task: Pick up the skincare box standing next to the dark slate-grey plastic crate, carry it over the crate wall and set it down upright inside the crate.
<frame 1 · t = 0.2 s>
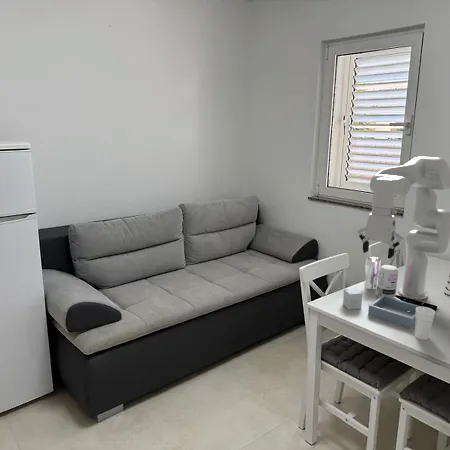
hand: (377, 254, 159), 31 cm above the table, tool pointing down, fingers open, 9 cm apart
skincare box: (351, 306, 185), on the table
supplement can: (385, 297, 195), on the table
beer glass: (370, 288, 205), on the table
cup: (421, 337, 160), on the table
crate: (395, 316, 176), on the table
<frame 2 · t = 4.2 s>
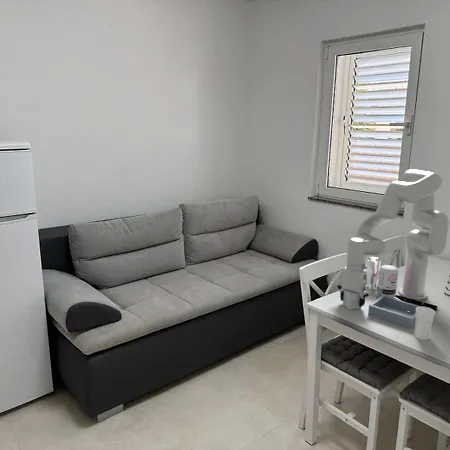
hand: (352, 302, 185), 2 cm above the table, tool pointing down, fingers closed on skincare box, 8 cm apart
skincare box: (351, 306, 185), on the table, touching gripper
everything else where it was.
when the fingers open (5 cm above the table, at t = 12.0 s): skincare box drops 2 cm, resting on crate.
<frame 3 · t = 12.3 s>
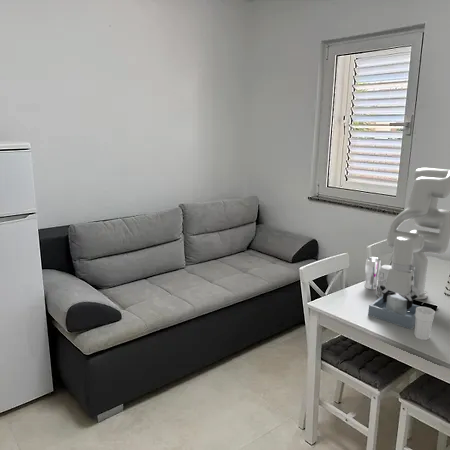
hand: (396, 304, 175), 5 cm above the table, tool pointing down, fingers open, 9 cm apart
skincare box: (395, 314, 176), point 1 cm above the table, touching crate
everything else where it was.
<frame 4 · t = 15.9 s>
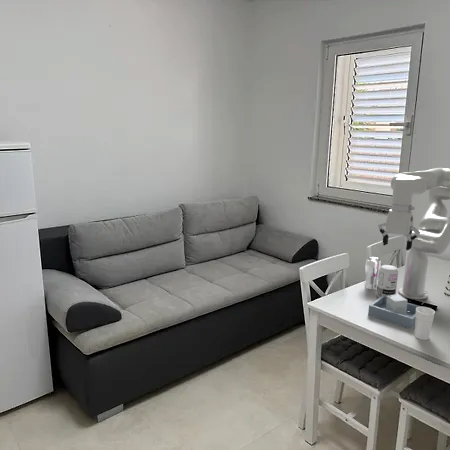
hand: (396, 247, 176), 28 cm above the table, tool pointing down, fingers open, 9 cm apart
nothing on the table moved.
at the end: skincare box inside the target area on the crate (0.3 cm from its centre), point 0.8 cm above the crate's base; skincare box tilted 0°; the gripper is holding nothing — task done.
